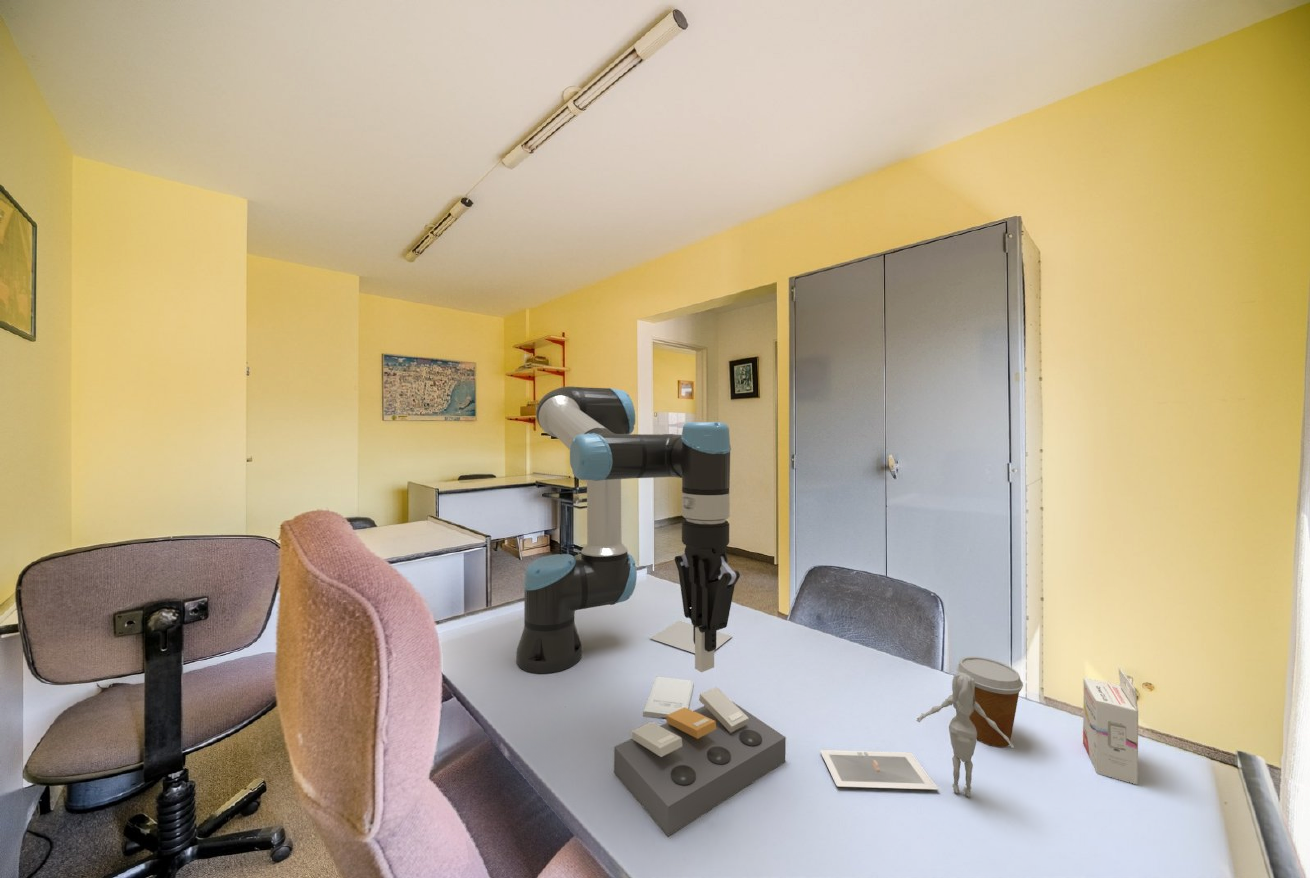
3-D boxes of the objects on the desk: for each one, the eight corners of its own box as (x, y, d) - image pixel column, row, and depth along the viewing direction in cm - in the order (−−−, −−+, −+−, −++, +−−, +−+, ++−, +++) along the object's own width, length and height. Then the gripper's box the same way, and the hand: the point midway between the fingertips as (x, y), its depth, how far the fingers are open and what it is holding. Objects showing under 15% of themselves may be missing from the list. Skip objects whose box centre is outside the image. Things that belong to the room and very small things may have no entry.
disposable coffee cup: (1004, 761, 74) (1005, 688, 74) (944, 727, 83) (945, 662, 83) (1033, 743, 79) (1034, 674, 79) (973, 713, 87) (974, 651, 87)
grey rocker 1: (632, 739, 73) (631, 729, 73) (652, 729, 75) (651, 720, 75) (661, 757, 66) (660, 746, 66) (682, 746, 68) (681, 736, 69)
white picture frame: (938, 796, 67) (939, 782, 67) (836, 793, 68) (837, 779, 68) (910, 759, 75) (910, 746, 75) (819, 756, 76) (819, 743, 76)
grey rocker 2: (699, 699, 81) (700, 693, 80) (715, 692, 83) (716, 685, 83) (730, 733, 74) (731, 725, 74) (747, 724, 76) (748, 716, 76)
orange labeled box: (667, 723, 77) (666, 714, 77) (685, 714, 79) (684, 706, 79) (697, 738, 70) (696, 728, 70) (716, 729, 73) (715, 719, 73)
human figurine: (1010, 802, 66) (1012, 679, 66) (1015, 821, 63) (1017, 692, 62) (915, 771, 72) (916, 658, 72) (915, 787, 69) (917, 669, 68)
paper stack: (695, 612, 136) (695, 610, 136) (776, 634, 122) (776, 631, 122) (649, 640, 117) (649, 638, 117) (738, 670, 103) (738, 667, 103)
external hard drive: (693, 688, 96) (686, 724, 84) (655, 683, 98) (642, 718, 86) (693, 680, 96) (686, 716, 84) (655, 676, 98) (642, 710, 86)
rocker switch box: (614, 772, 71) (614, 744, 71) (724, 717, 85) (724, 694, 85) (667, 836, 60) (668, 804, 60) (785, 761, 74) (785, 735, 74)
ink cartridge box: (1080, 742, 79) (1081, 658, 79) (1120, 753, 76) (1121, 666, 76) (1094, 774, 72) (1096, 681, 72) (1139, 787, 69) (1140, 691, 69)
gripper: (661, 515, 75) (661, 658, 75) (716, 529, 64) (715, 694, 64) (696, 511, 79) (695, 646, 79) (753, 523, 69) (751, 678, 69)
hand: (704, 667), depth 72 cm, fingers closed
